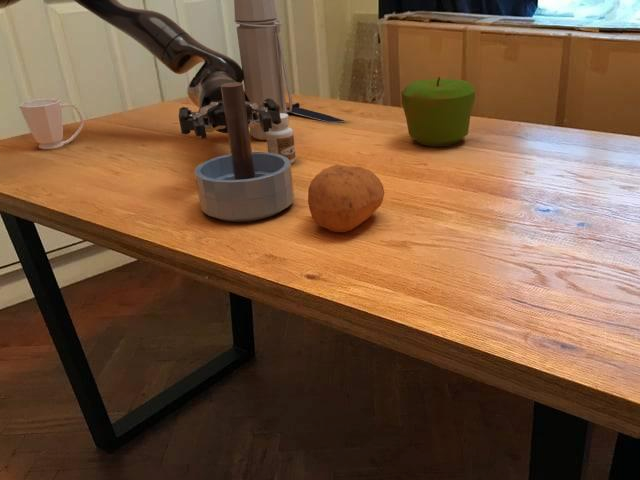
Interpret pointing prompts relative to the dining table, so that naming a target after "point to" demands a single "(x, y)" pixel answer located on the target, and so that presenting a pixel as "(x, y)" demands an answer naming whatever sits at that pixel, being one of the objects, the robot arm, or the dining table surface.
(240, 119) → the stick
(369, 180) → the potato
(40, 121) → the cup
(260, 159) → the bowl
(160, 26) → the robot arm
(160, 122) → the dining table surface
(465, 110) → the apple
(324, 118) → the knife
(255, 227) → the dining table surface
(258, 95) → the water bottle
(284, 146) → the pill bottle
